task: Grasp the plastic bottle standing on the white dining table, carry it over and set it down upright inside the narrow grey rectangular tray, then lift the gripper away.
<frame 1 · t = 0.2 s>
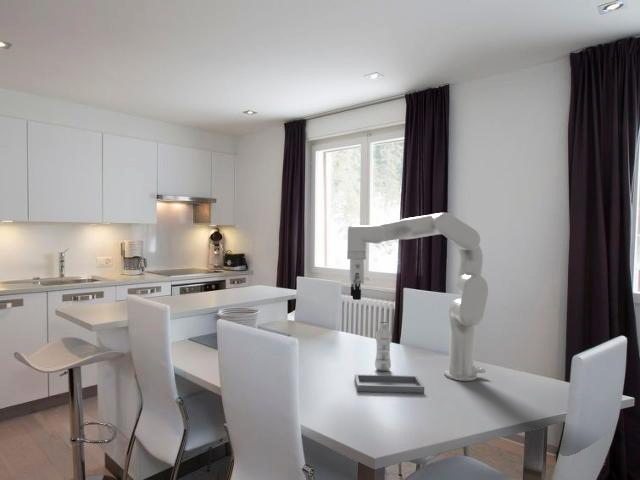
hand: (355, 297, 178), 31 cm above the table, fingers open, 9 cm apart
grey rectangular tray: (388, 387, 164), on the table
plastic bottle: (382, 370, 184), on the table
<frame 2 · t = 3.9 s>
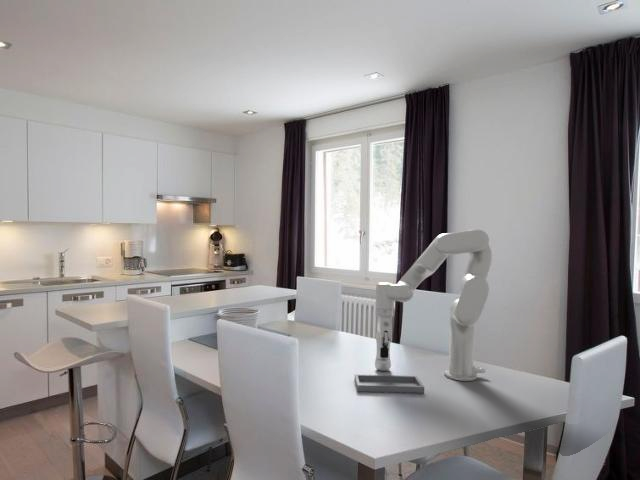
hand: (383, 355, 183), 6 cm above the table, fingers closed on plastic bottle, 5 cm apart
plastic bottle: (382, 370, 184), on the table, touching gripper
when the fingers open (8 cm above the table, at t = 12.5 s): plastic bottle drops 1 cm, resting on grey rectangular tray.
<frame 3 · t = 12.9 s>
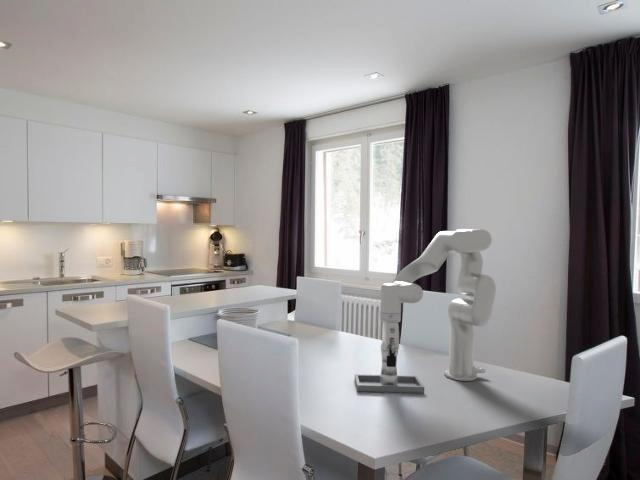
hand: (388, 362, 163), 9 cm above the table, fingers open, 9 cm apart
plastic bottle: (388, 386, 163), resting on grey rectangular tray
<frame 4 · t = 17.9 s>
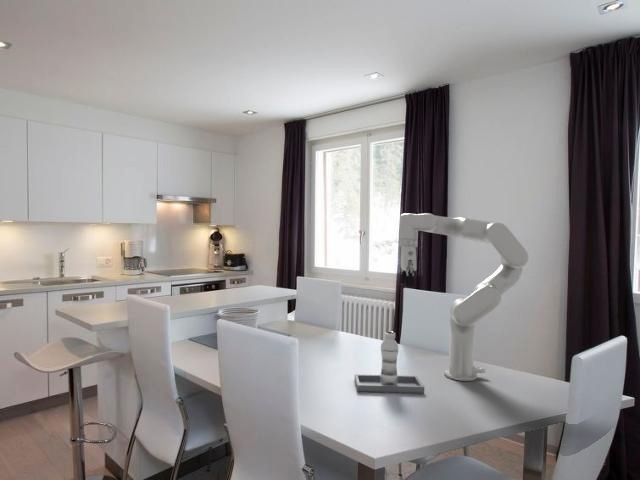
hand: (406, 284, 183), 36 cm above the table, fingers open, 9 cm apart
nothing on the table moved.
at the end: plastic bottle inside the target area on the grey rectangular tray (0.7 cm from its centre), point 0.4 cm above the grey rectangular tray's base; plastic bottle tilted 0°; the gripper is holding nothing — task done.
